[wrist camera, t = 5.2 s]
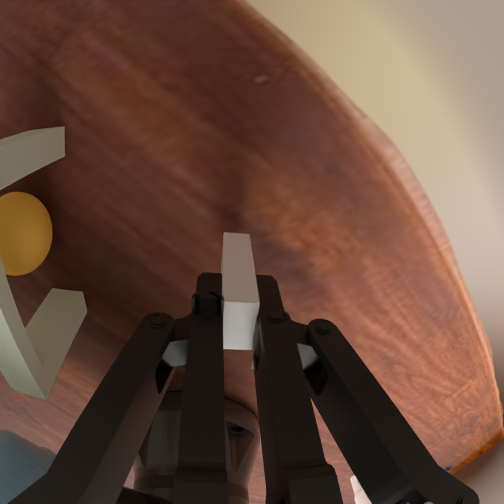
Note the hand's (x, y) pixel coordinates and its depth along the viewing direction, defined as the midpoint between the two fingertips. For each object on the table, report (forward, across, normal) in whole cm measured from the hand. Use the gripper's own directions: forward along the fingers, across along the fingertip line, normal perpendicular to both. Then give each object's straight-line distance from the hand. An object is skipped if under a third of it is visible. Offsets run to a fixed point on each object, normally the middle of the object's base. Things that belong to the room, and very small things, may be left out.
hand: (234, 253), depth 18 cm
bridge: (+2, +13, 0) cm, 13 cm away
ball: (-1, +15, -1) cm, 15 cm away
